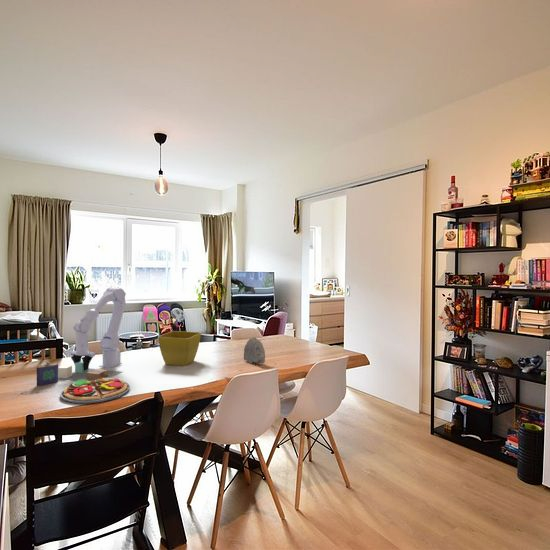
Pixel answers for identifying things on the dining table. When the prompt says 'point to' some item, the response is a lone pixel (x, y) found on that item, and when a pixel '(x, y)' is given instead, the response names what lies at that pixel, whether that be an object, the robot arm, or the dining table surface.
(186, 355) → the flower pot
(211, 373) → the dining table surface
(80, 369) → the teal block
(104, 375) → the walnut base
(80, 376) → the mat
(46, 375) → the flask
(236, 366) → the dining table surface
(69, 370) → the cream block
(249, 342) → the decorative rock
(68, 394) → the toy pizza
